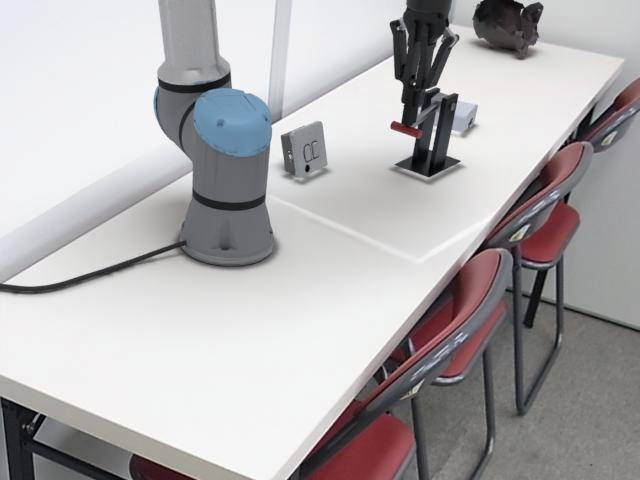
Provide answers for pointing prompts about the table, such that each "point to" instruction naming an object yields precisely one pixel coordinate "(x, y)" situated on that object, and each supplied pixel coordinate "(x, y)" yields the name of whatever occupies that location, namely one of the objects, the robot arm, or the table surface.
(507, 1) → the dark grey rounded piece
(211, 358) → the table surface
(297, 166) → the electrical switch
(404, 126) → the lever
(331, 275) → the table surface
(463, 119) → the charger
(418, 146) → the bracket
